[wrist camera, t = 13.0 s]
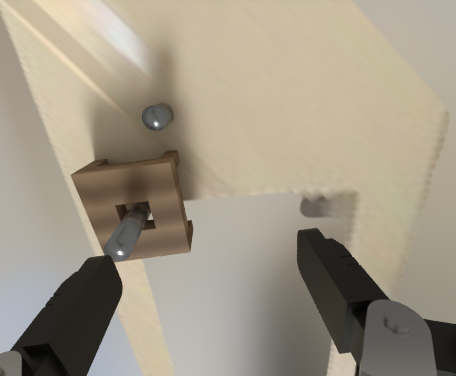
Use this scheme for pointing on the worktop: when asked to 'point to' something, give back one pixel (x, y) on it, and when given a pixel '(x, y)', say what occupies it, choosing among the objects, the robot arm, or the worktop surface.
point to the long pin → (127, 232)
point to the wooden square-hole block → (132, 193)
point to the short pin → (157, 116)
